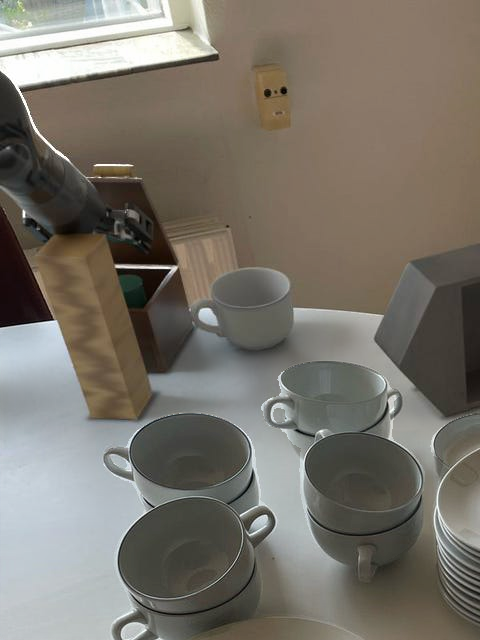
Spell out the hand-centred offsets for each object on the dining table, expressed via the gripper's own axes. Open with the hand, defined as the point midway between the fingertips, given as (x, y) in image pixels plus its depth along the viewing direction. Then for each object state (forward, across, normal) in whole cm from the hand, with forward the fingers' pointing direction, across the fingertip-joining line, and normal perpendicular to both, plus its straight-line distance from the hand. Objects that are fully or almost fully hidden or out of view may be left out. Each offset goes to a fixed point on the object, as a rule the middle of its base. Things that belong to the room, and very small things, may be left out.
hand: (113, 247), depth 129 cm
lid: (+1, 0, -3) cm, 4 cm away
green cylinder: (+8, 0, +10) cm, 13 cm away
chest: (+10, 0, +10) cm, 14 cm away
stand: (-1, -2, +20) cm, 21 cm away
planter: (-8, -37, +16) cm, 41 cm away
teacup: (+11, -15, +9) cm, 21 cm away
